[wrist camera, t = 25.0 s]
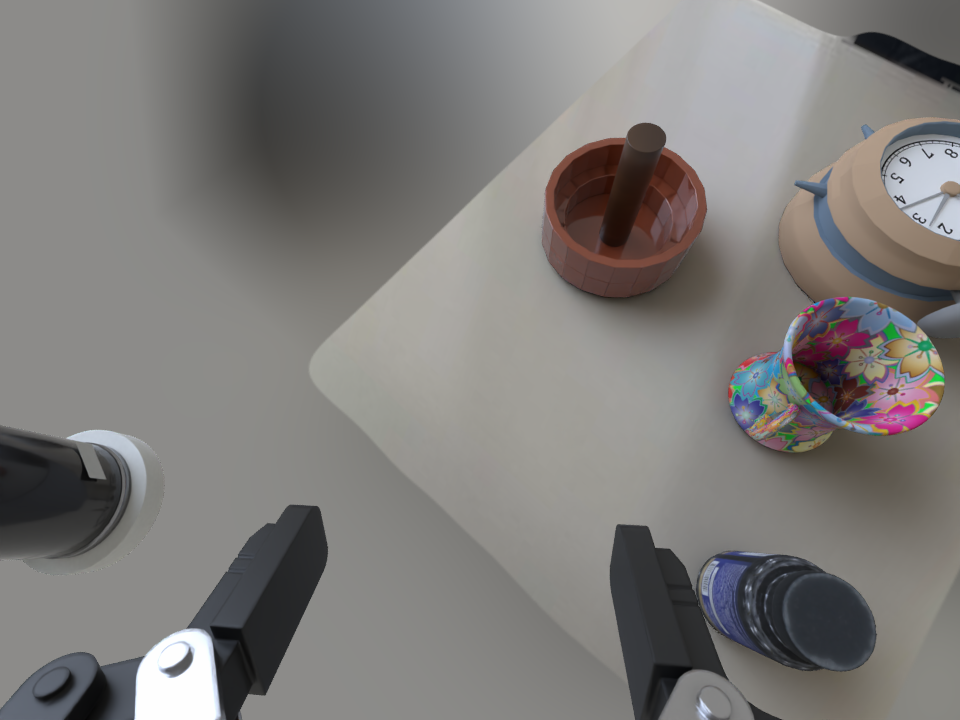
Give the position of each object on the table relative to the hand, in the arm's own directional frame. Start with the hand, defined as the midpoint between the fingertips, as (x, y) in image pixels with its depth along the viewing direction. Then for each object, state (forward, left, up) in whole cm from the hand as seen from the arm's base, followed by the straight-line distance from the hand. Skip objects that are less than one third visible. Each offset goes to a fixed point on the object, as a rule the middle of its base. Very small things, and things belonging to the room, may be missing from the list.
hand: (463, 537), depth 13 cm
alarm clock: (+36, +25, -27) cm, 51 cm away
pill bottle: (+18, -3, -27) cm, 33 cm away
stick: (+10, +28, -26) cm, 39 cm away
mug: (+22, +11, -27) cm, 36 cm away
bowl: (+10, +28, -27) cm, 40 cm away
